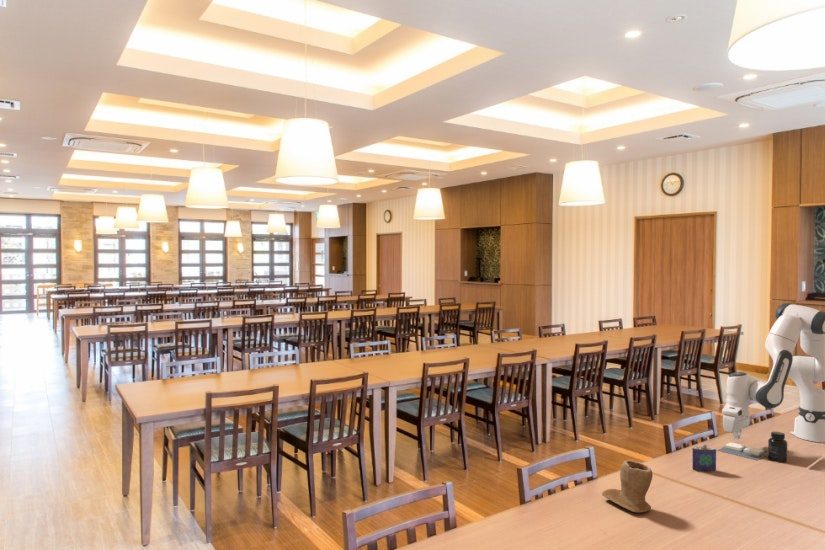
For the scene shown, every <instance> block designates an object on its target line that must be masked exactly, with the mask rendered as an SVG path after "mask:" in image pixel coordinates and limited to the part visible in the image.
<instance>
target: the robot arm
mask: <svg viewBox="0 0 825 550" xmlns="http://www.w3.org/2000/svg"><path fill="white" fill-rule="evenodd" d="M774 314H775V316H774V317H775V322H774V323H773V325H772V326H771V328H770V330H769V332H768V334H767V336H766V339H765V342H764V349H765V351H766V353H767V354H768V355H769V356H770V357H771V359H772V369H771V370H770V374H769V377H768V379H767V382H765V381H762V380H761V379H757V378H755V377H753V376H750V375H749V374H748V373H746V372H743V371H736V372H735V371H734V372H731V373H729V374H728V376H727V379H726V384H725V385H726V388H725V390H726V391H725V392H726V399H725V405H724V407H723V408H722V410H721V414H722V415H723V417H722V420H723V421H722V424H723V425H722V426H723V431H724V432H725V433H729V434H732V435H733V439H734V440H736V441H737V440H740V439H741V435H742V432H743V431H742V430H743V429H744V428H747V427H749V426H750V423H751V420H750V419H751V418H750V417H751V416H750V401H753V402H755V403H757V404H760V405H761V406H762V407H763V408H766V409H776V408H777V407H779V406H780V405H781V404H782V403H783V401H784V398H785V397H784V396H785V387H786V382H787V380H788V378H789V379H791V380H792V381H793V382H794V384H795V385H796V387H797V389H798V393H799V406H798V415H797V416H796V417H795V418H794V430H791V431H790V434H791V435H793V436H796V437H797V438H799V439H802V440H805V441H808V442H809V441H810V442H815V443H825V390H824V389H823V388H821V387H818V386H817V385H815V384H814V383H813V381H819V382H825V311H823V310H818V309H816V308H813V307H810V306H805V305H800V304H794V303H791V302H784V303H781V304H780V305H779V306H777V308H776V310H775V313H774ZM798 341H799V342H800V343H799V345H800V349H801V350H802V351H803V352H804V353H805V354H807V355H809V356H803V355H794V356H793V354H794V352H795V348H796V346H797V343H798Z"/></svg>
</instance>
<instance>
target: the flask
mask: <svg viewBox="0 0 825 550" xmlns="http://www.w3.org/2000/svg"><path fill="white" fill-rule="evenodd" d="M708 446H709V445H708V444H706V443H703V445H702V446H696V447H695V446H694V447H692V451H691V452H692V469H693V470H692V471H694V470H695V471H696V472H703V471H704V472H716V471H717V448H714V447H708ZM695 471H694V472H695Z"/></svg>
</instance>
